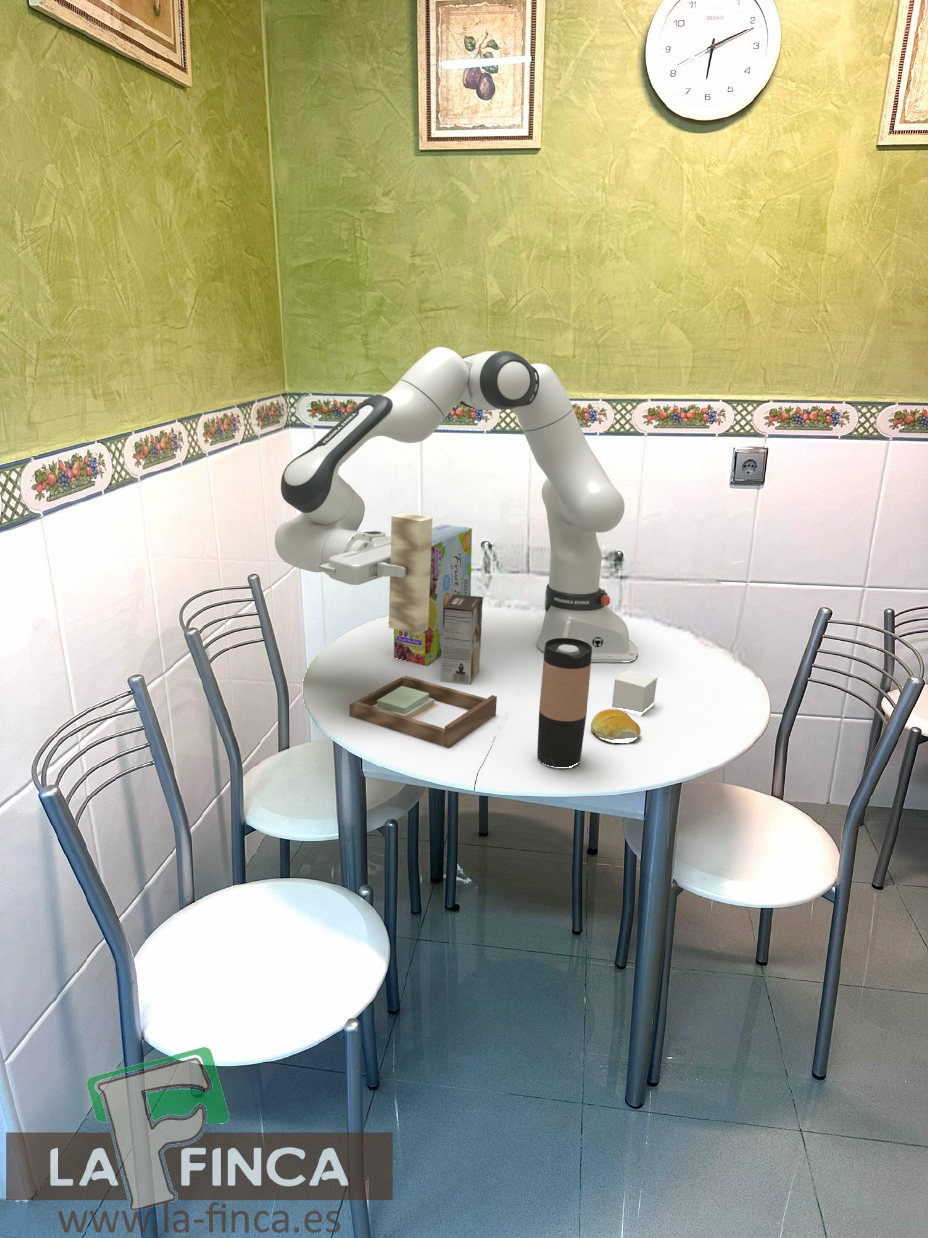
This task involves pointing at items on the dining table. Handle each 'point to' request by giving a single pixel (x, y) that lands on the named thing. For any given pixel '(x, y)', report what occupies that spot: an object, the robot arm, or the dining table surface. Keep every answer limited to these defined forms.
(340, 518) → the robot arm
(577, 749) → the travel mug
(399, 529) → the beige tall rectangular block
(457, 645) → the coffee box
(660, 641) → the dining table surface
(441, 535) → the snack box
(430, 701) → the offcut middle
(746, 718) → the dining table surface
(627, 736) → the bread roll
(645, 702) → the off-white cube
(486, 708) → the tray
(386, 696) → the offcut top
